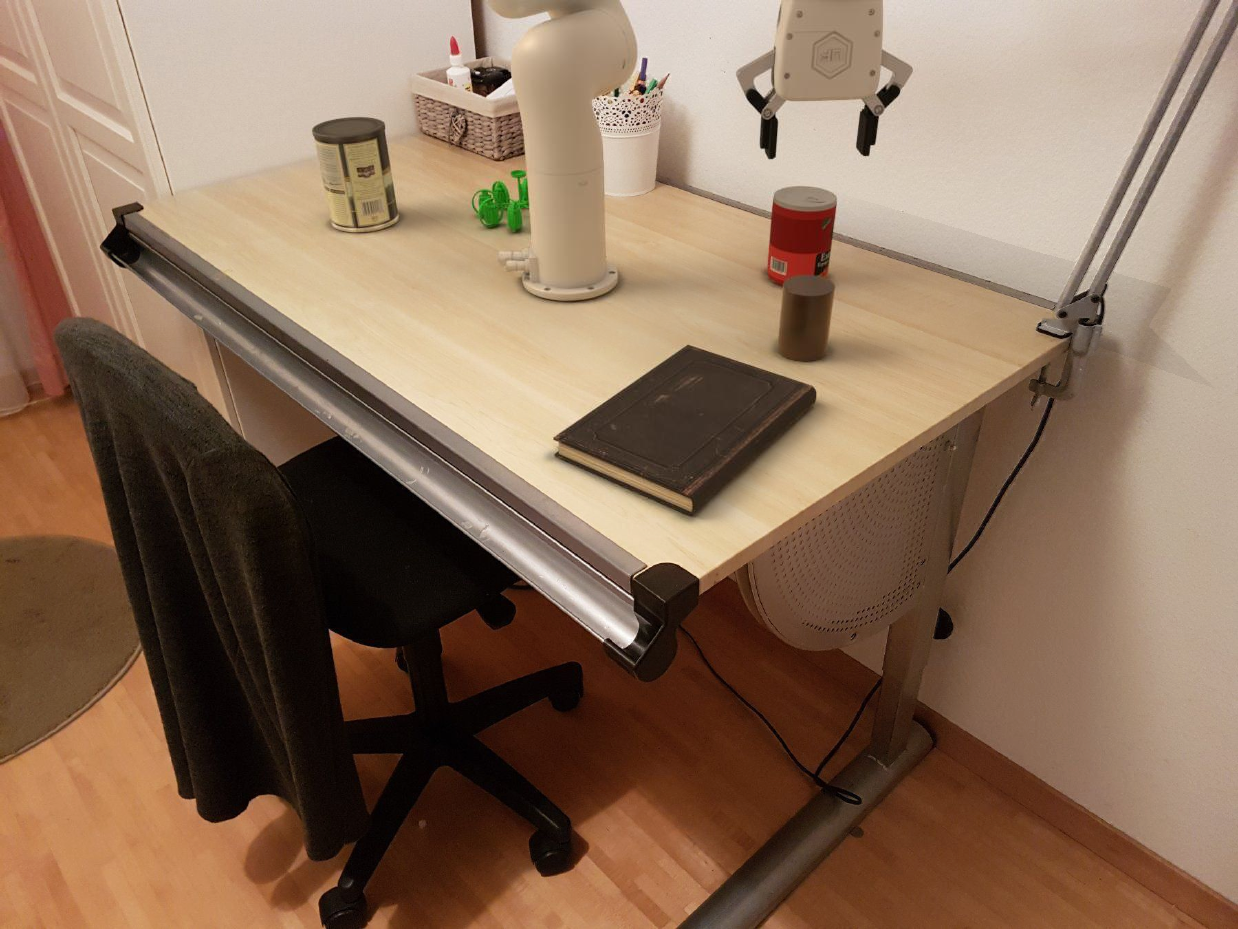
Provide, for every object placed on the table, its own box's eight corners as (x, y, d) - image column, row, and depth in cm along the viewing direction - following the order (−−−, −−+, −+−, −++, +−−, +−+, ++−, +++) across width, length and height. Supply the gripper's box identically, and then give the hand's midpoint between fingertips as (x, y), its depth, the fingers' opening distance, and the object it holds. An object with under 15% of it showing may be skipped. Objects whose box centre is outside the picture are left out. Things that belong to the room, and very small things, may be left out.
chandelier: (576, 201, 146) (574, 157, 142) (563, 236, 134) (561, 190, 130) (483, 199, 148) (479, 156, 144) (462, 234, 135) (457, 188, 131)
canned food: (826, 291, 118) (837, 207, 112) (764, 286, 119) (771, 204, 113) (827, 267, 124) (837, 187, 118) (768, 263, 125) (775, 183, 119)
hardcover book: (554, 456, 88) (553, 436, 87) (687, 362, 103) (687, 344, 102) (693, 518, 80) (694, 497, 79) (815, 406, 95) (817, 387, 94)
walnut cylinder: (781, 362, 103) (788, 296, 98) (773, 338, 108) (779, 275, 103) (831, 361, 103) (840, 295, 98) (821, 337, 108) (829, 274, 103)
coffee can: (365, 204, 146) (349, 112, 138) (413, 216, 142) (399, 122, 134) (315, 224, 139) (296, 129, 131) (364, 237, 135) (347, 140, 127)
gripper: (746, -24, 83) (737, 167, 92) (938, -30, 83) (909, 162, 92) (736, -34, 89) (729, 146, 99) (914, -40, 89) (889, 141, 99)
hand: (816, 153), depth 95 cm, fingers open, 9 cm apart
